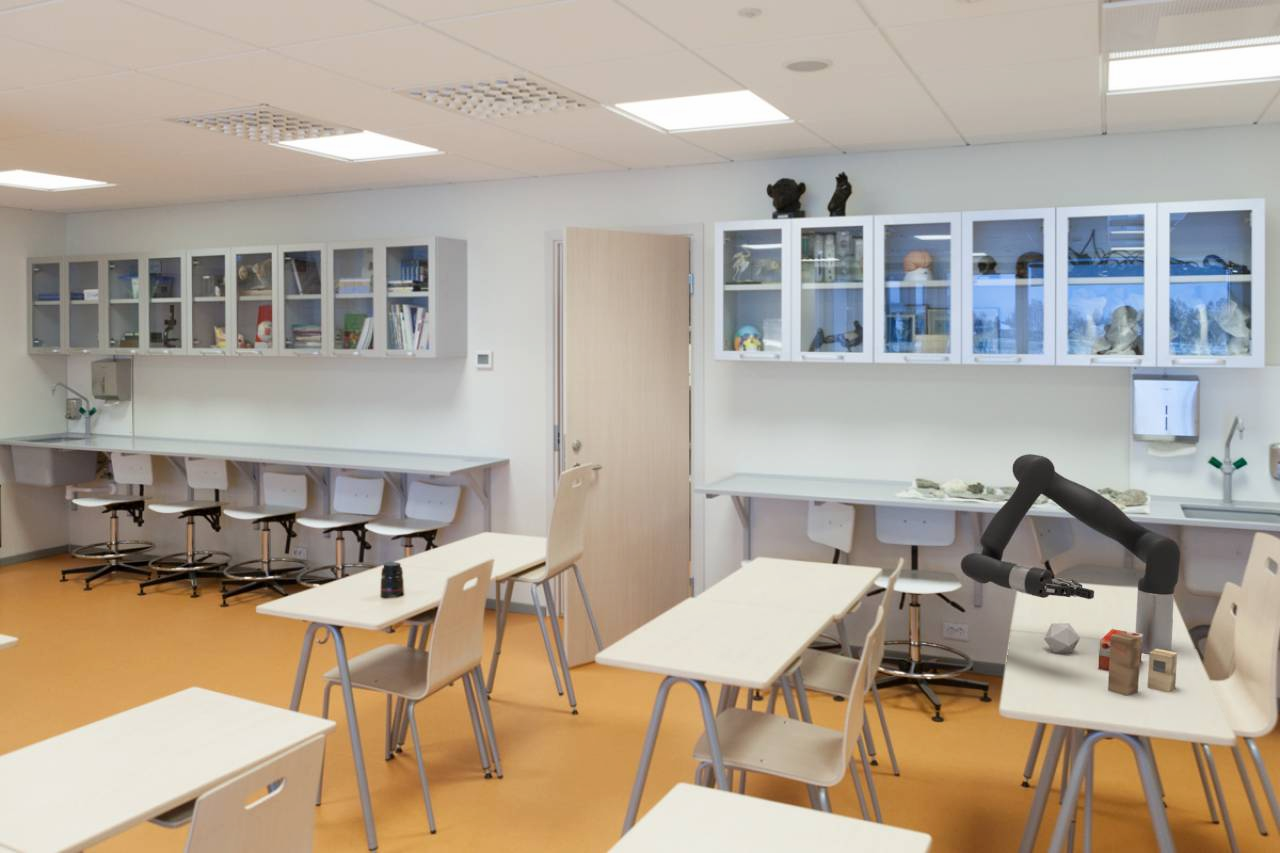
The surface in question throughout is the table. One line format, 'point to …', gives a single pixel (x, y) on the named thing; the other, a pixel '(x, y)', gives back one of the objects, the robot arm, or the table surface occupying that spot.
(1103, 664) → the medicine box
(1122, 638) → the walnut block
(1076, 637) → the die
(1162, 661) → the maple block
